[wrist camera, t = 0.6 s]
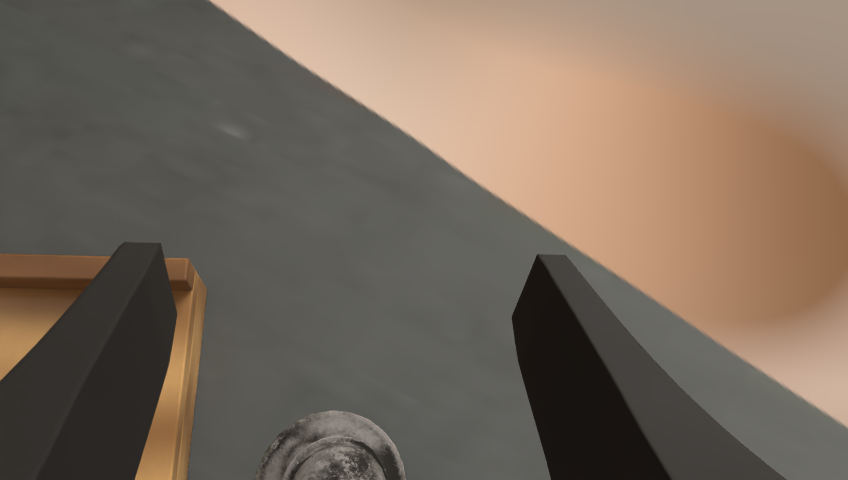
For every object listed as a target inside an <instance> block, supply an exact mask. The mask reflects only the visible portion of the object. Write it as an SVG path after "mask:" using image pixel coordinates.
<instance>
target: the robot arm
mask: <svg viewBox="0 0 848 480" xmlns="http://www.w3.org/2000/svg"><path fill="white" fill-rule="evenodd" d="M176 320H177V310H176V306H175V302H174V297H173V293H172V289H171V285H170V280H169V276H168V272H167V268H166V264H165V259H164V255H163V251H162V247H161V243H135V242H124V243H123V244H122V245H121V246H119V247H118V249H117V250H116V251H115V252H114V254H113V255H112V256H111V257H110V259H109V260H108V261H107V262H106V264H105V265H104V266H103V267H102V269H101V270H100V271H99V272H98V274H97V275H96V276H95V277H94V278H93V280H92V281H91V282H90V283H89V284H88V286H87V287H86V288H85V289H84V290H83V292H82V293H81V294H80V295H79V296H78V298H77V299H76V300H75V301H74V302H73V303H72V305H71V306H70V307H69V308H68V309H67V310H66V311H65V312H64V314H63V315H62V316H61V317H60V318H59V319H58V320H57V321H56V323H55V324H54V325H53V326H52V327H51V328H50V329H49V330H48V331H47V333H46V334H45V335H44V336H43V337H42V338H41V339H40V340H39V341H38V343H37V344H36V345H35V346H34V347H33V348H32V349H31V350H30V351H29V352H28V353H27V354H26V355H25V356H24V357H23V358H22V359H21V360H20V361H19V362H18V363H17V364H16V365H15V366H14V367H13V368H12V369H11V370H10V371H9V372H8V373H7V374H6V375H5V376H4V377H3V378H2V379H1V380H0V480H135V477H136V474H137V471H138V467H139V464H140V461H141V457H142V454H143V451H144V447H145V444H146V441H147V438H148V434H149V431H150V428H151V424H152V421H153V418H154V414H155V411H156V408H157V404H158V401H159V397H160V394H161V391H162V387H163V384H164V380H165V377H166V374H167V370H168V367H169V362H170V357H171V351H172V345H173V339H174V333H175V327H176ZM512 323H513V330H514V337H515V344H516V350H517V356H518V362H519V366H520V370H521V373H522V377H523V381H524V384H525V388H526V391H527V395H528V398H529V402H530V405H531V409H532V412H533V416H534V419H535V423H536V426H537V430H538V433H539V437H540V440H541V444H542V447H543V451H544V454H545V457H546V461H547V465H548V469H549V473H550V477H551V480H786V479H785V478H784V477H782V476H781V475H780V474H778V473H777V472H776V471H775V470H773V469H772V468H771V467H770V466H768V465H767V464H766V463H765V462H764V461H762V460H761V459H760V458H759V457H757V456H756V455H755V454H754V453H752V452H751V451H750V450H749V449H748V448H746V447H745V446H744V445H743V444H741V443H740V442H739V441H738V440H737V439H736V438H734V437H733V436H732V435H731V434H730V433H729V432H728V431H726V430H725V429H724V428H723V427H722V426H721V425H720V424H719V423H717V422H716V421H715V420H714V419H713V418H712V417H711V416H710V415H709V414H708V413H707V412H706V411H705V410H703V409H702V408H701V407H700V406H699V405H698V404H697V403H696V402H695V401H694V400H693V399H692V398H691V397H690V396H689V395H687V394H686V393H685V392H684V391H683V390H682V389H681V388H680V387H679V386H678V385H677V384H676V383H675V382H674V380H673V379H672V378H671V377H670V376H669V375H668V374H667V373H666V372H665V371H664V370H663V369H662V368H661V367H660V366H659V365H658V364H657V363H656V362H655V361H654V360H653V358H652V357H651V356H650V355H649V354H648V353H647V352H646V351H645V350H644V349H643V347H642V346H641V345H640V344H639V343H638V342H637V341H636V340H635V338H634V337H633V336H632V335H631V334H630V333H629V332H628V330H627V329H626V328H625V327H624V326H623V325H622V323H621V322H620V321H619V320H618V319H617V317H616V316H615V315H614V314H613V313H612V311H611V310H610V309H609V308H608V307H607V305H606V304H605V303H604V302H603V301H602V299H601V298H600V297H599V296H598V294H597V293H596V292H595V291H594V290H593V288H592V287H591V286H590V285H589V283H588V282H587V281H586V280H585V278H584V277H583V276H582V275H581V273H580V272H579V271H578V270H577V268H576V267H575V266H574V265H573V264H572V262H571V261H570V260H569V259H568V258H567V256H566V255H541V254H537V256H536V259H535V261H534V264H533V266H532V269H531V271H530V274H529V276H528V278H527V281H526V283H525V286H524V288H523V291H522V293H521V296H520V298H519V300H518V303H517V305H516V308H515V310H514V313H513V315H512Z"/></svg>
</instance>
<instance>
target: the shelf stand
mask: <svg viewBox="0 0 848 480" xmlns="http://www.w3.org/2000/svg"><path fill="white" fill-rule="evenodd" d="M109 259H110V257H107V256H67V255H28V254H0V380H1V379H2V378H3V377H4V376H5V375H6V374H7V373H8V372H9V371H10V370H11V369H12V368H13V367H14V366H15V365H16V364H17V363H18V362H19V361H20V360H21V359H22V358H23V357H24V356H25V355H26V354H27V353H28V352H29V351H30V350H31V349H32V348H33V347H34V346H35V345H36V344H37V343H38V341H39V340H40V339H41V338H42V337H43V336H44V335H45V334H46V333H47V331H48V330H49V329H50V328H51V327H52V326H53V325H54V324H55V323H56V321H57V320H58V319H59V318H60V317H61V316H62V315H63V314H64V312H65V311H66V310H67V309H68V308H69V307H70V306H71V305H72V303H73V302H74V301H75V300H76V299H77V298H78V296H79V295H80V294H81V293H82V292H83V290H84V289H85V288H86V287H87V286H88V284H89V283H90V282H91V281H92V280H93V278H94V277H95V276H96V275H97V274H98V272H99V271H100V270H101V269H102V267H103V266H104V265H105V264H106V262H107V261H108V260H109ZM164 259H165V264H166V268H167V272H168V276H169V280H170V285H171V289H172V293H173V297H174V302H175V306H176V310H177V320H176V327H175V333H174V339H173V345H172V351H171V357H170V362H169V367H168V370H167V374H166V377H165V380H164V384H163V387H162V391H161V394H160V397H159V401H158V404H157V408H156V411H155V414H154V418H153V421H152V424H151V428H150V431H149V434H148V438H147V441H146V444H145V447H144V451H143V454H142V457H141V461H140V464H139V467H138V471H137V474H136V477H135V480H187V473H188V464H189V455H190V445H191V436H192V426H193V417H194V407H195V398H196V389H197V379H198V370H199V360H200V351H201V341H202V332H203V323H204V313H205V304H206V294H207V289H206V287H205V285H204V284H203V282H202V280H201V279H200V277H199V276H198V274H197V272H196V271H195V269H194V267H193V266H192V264H191V262H190V261H189V259H186V258H164Z"/></svg>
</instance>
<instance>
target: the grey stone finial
mask: <svg viewBox="0 0 848 480" xmlns="http://www.w3.org/2000/svg"><path fill="white" fill-rule="evenodd" d="M255 480H406V479H405V472H404V465H403V463H402V460H401V458H400V456H399V453H398V451H397V448H396V446H395V445H394V444H393V442H392V441H391V440H390V438H389V437H388V436H387V434H386V433H385V432H384V431H383V430H382V429H381V428H379V427H378V426H377V425H375V424H374V423H373V422H371V421H370V420H369V419H366V418H364V417H361V416H359V415H356V414H354V413H350V412H341V411H327V412H321V413H314V414H312V415H309V416H307V417H305V418H303V419H300V420H298V421H296V422H294V423H293V424H292V425H290V426H289V427H288V428H287V429H285V430H284V431H283V432H282V433H280V434H279V435H278V436H277V438H276V439H275V440H274V442H273V443H272V444H271V445H270V447H269V448H268V449H267V451H266V452H265V454H264V456H263V459H262V461H261V463H260V465H259V467H258V470H257V472H256V477H255Z"/></svg>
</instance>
